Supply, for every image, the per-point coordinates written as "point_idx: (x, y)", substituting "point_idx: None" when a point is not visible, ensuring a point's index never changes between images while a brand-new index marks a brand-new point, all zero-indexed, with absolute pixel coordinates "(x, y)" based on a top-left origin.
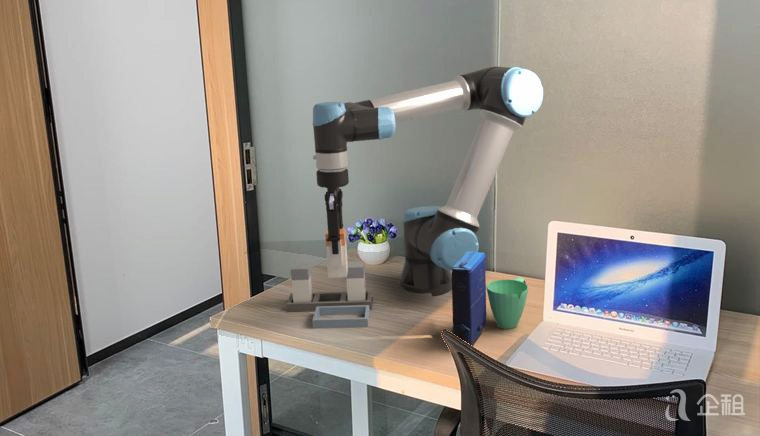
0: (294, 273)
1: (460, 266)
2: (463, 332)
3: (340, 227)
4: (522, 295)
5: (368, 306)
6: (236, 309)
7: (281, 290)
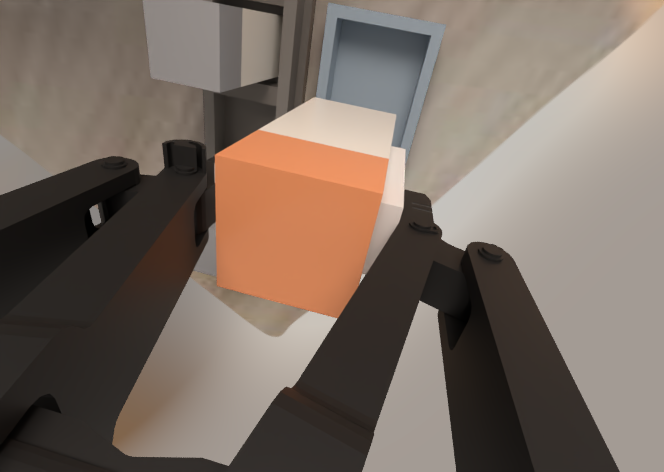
0: None
1: None
2: None
3: (196, 198)
4: None
5: (340, 7)
6: (242, 310)
7: None
